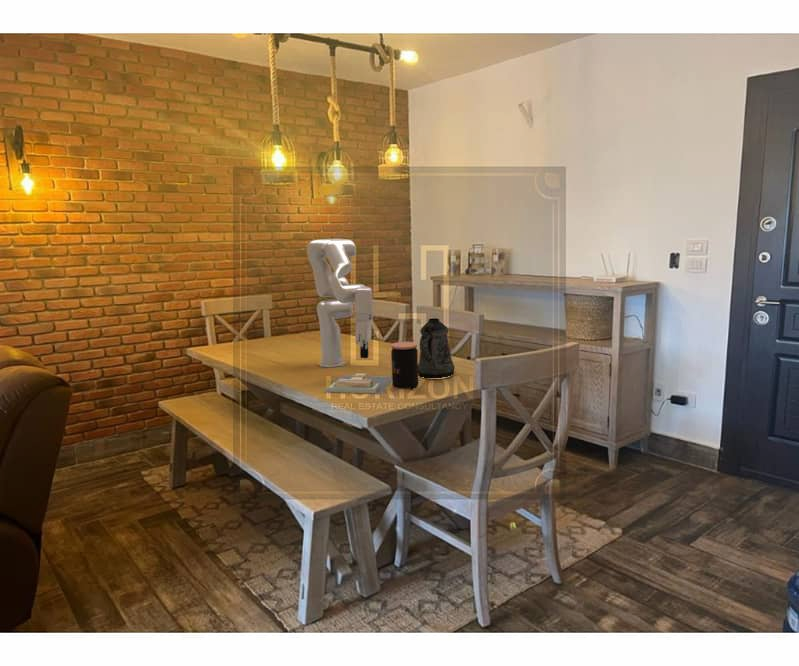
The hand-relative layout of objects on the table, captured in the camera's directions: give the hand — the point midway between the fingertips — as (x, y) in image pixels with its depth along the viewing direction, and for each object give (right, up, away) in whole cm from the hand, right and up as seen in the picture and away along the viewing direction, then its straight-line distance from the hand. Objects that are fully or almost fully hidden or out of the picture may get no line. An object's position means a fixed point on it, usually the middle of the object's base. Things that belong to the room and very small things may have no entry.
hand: (364, 357), depth 252 cm
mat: (-1, -12, -10) cm, 15 cm away
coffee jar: (+18, -12, -13) cm, 25 cm away
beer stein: (+31, -8, +3) cm, 33 cm away
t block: (-2, -12, -14) cm, 19 cm away
